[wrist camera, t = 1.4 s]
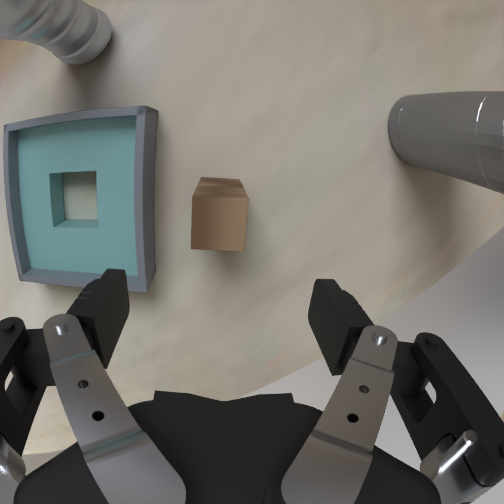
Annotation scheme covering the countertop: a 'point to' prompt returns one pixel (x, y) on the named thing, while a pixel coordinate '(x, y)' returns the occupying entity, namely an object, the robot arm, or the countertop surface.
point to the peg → (219, 215)
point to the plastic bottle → (57, 27)
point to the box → (108, 195)
